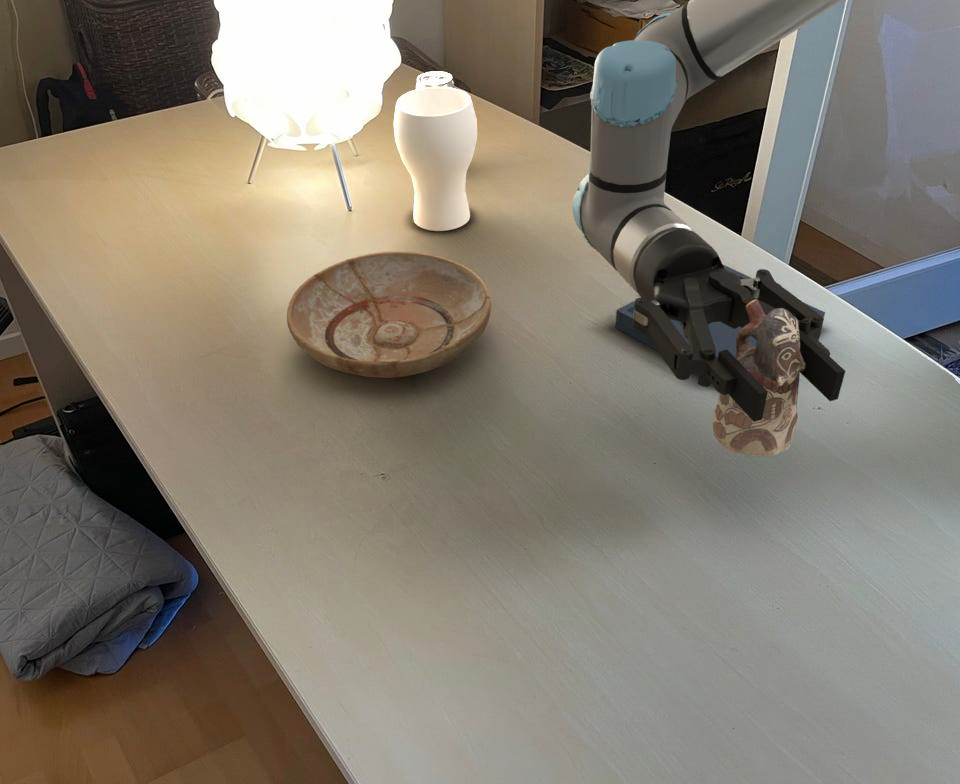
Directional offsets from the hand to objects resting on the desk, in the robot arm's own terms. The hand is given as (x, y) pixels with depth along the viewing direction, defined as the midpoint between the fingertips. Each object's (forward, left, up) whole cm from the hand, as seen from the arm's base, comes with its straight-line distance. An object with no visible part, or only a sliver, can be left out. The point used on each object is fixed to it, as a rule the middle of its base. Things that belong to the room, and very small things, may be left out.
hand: (799, 396), depth 80 cm
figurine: (+5, -2, -7) cm, 9 cm away
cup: (+71, -17, -16) cm, 74 cm away
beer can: (+84, -27, -16) cm, 89 cm away
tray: (+27, -23, -16) cm, 39 cm away
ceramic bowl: (+51, +6, -16) cm, 53 cm away
